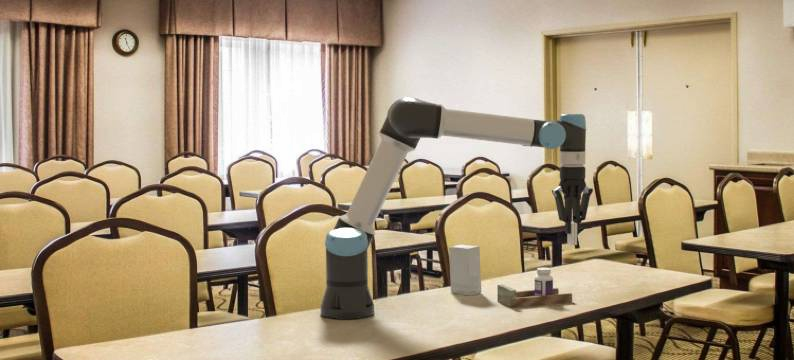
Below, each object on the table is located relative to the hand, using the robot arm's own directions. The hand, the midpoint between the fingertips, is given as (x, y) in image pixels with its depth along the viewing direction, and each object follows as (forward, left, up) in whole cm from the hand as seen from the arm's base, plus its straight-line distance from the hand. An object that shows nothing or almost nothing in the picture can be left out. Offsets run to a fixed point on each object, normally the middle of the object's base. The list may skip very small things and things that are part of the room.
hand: (572, 244), depth 270 cm
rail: (-13, 0, -16) cm, 21 cm away
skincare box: (-27, +19, -17) cm, 37 cm away
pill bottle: (-10, 0, -17) cm, 19 cm away
